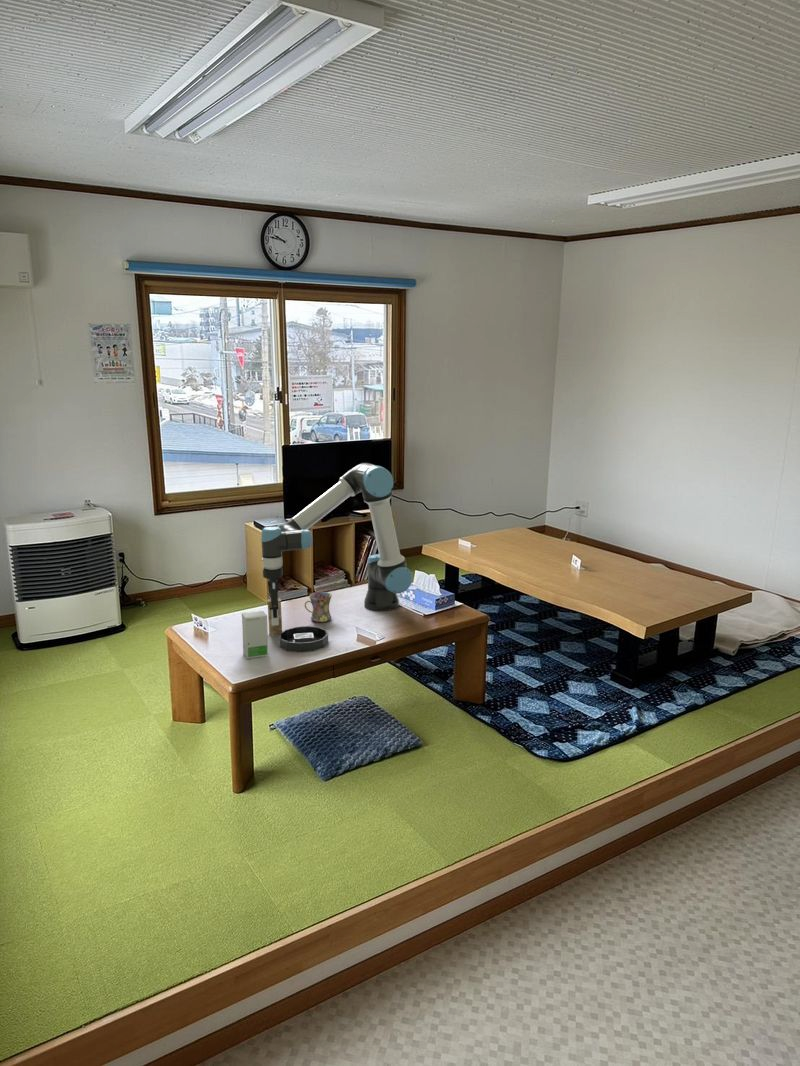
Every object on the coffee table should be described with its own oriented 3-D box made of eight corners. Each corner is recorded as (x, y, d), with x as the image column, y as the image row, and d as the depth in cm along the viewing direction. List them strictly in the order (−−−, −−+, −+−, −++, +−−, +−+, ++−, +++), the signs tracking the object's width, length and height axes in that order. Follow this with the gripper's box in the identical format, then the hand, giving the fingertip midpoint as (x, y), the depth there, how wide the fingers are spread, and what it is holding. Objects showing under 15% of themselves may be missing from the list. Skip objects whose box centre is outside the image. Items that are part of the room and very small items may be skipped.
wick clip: (313, 638, 288) (312, 632, 287) (314, 643, 283) (314, 637, 282) (293, 640, 286) (293, 634, 286) (294, 645, 281) (293, 638, 281)
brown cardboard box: (281, 632, 297) (280, 598, 293) (282, 634, 294) (280, 600, 291) (269, 633, 296) (267, 599, 292) (269, 635, 293) (267, 601, 290)
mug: (325, 614, 317) (324, 590, 314) (336, 620, 309) (335, 596, 307) (300, 620, 310) (299, 595, 308) (310, 626, 303) (310, 601, 300)
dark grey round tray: (325, 633, 295) (324, 624, 294) (330, 649, 278) (330, 640, 277) (278, 636, 292) (278, 628, 291) (280, 654, 274) (280, 645, 273)
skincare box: (246, 659, 269) (244, 618, 266) (242, 653, 275) (240, 612, 272) (269, 655, 273) (267, 615, 269) (265, 649, 279) (263, 609, 275)
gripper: (261, 559, 300) (263, 610, 304) (263, 576, 276) (265, 630, 281) (280, 558, 301) (282, 608, 306) (284, 575, 277) (286, 629, 282)
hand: (274, 619), depth 293 cm, fingers open, 13 cm apart
